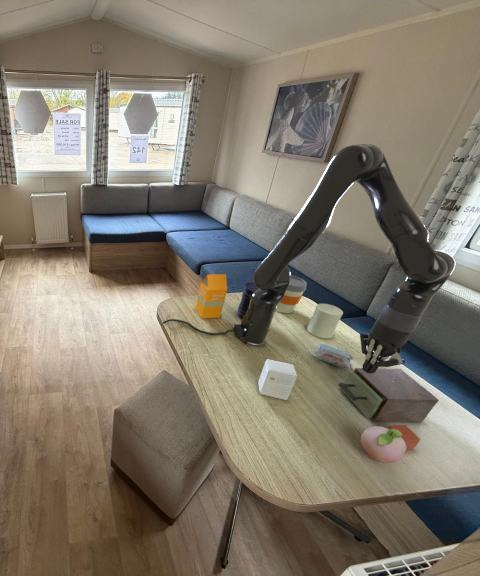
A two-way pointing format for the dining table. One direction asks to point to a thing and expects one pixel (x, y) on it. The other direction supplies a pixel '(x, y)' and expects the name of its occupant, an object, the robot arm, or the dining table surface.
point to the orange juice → (211, 296)
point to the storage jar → (246, 299)
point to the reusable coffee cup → (292, 295)
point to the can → (324, 320)
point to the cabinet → (399, 396)
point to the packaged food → (334, 356)
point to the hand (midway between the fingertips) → (367, 371)
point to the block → (406, 436)
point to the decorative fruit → (383, 444)
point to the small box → (277, 379)
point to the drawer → (362, 394)
